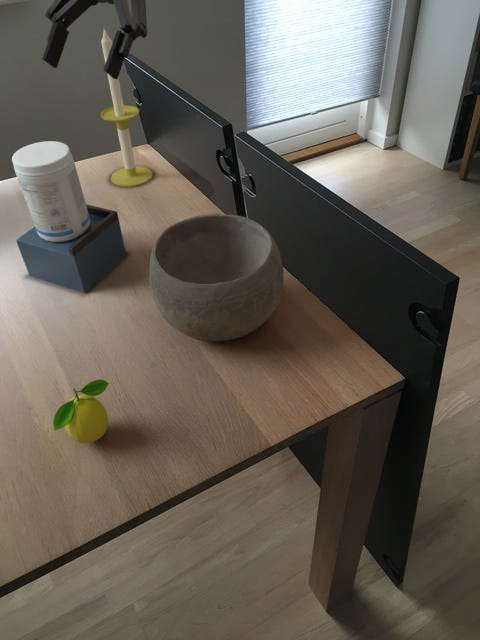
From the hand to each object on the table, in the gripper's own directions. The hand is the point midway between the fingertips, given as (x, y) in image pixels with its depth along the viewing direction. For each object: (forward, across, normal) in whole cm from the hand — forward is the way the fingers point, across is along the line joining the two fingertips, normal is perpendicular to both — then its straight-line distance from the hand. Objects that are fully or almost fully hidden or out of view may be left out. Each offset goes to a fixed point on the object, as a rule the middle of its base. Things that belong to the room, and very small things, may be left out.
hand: (78, 69), depth 89 cm
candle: (+8, +13, -38) cm, 41 cm away
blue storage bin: (+31, -1, -15) cm, 34 cm away
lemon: (+51, -30, +5) cm, 60 cm away
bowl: (+31, -33, -15) cm, 47 cm away
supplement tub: (+26, 0, -9) cm, 27 cm away
